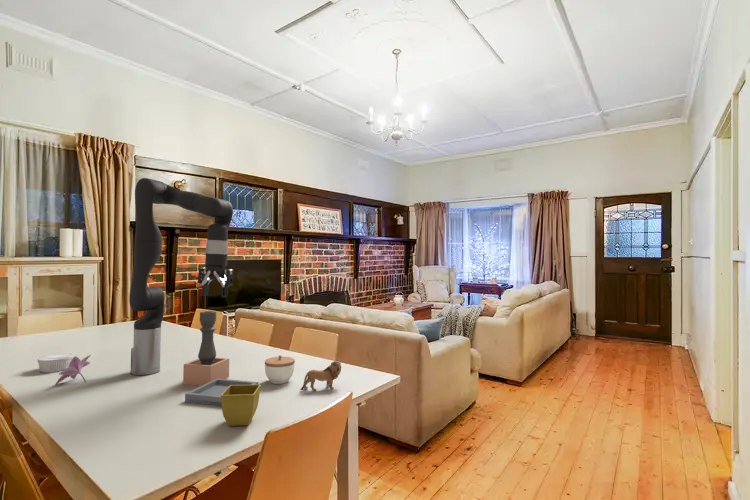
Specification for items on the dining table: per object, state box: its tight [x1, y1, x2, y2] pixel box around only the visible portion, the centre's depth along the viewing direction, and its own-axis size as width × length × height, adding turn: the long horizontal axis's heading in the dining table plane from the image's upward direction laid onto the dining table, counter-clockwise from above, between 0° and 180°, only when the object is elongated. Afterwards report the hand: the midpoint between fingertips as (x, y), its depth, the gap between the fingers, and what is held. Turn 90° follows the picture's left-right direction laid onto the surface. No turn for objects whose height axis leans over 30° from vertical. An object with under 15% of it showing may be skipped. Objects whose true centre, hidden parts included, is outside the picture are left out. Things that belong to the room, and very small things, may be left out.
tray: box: [184, 378, 259, 407], centre depth 126 cm, size 16×16×2 cm
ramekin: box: [37, 352, 75, 373], centre depth 152 cm, size 11×11×5 cm
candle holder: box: [197, 310, 217, 365], centre depth 141 cm, size 6×6×25 cm
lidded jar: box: [264, 355, 296, 385], centre depth 141 cm, size 11×11×9 cm
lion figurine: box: [300, 360, 342, 392], centre depth 134 cm, size 15×5×9 cm, turn 116°
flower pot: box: [221, 384, 261, 427], centre depth 106 cm, size 9×9×9 cm
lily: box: [55, 354, 92, 385], centre depth 138 cm, size 12×12×10 cm
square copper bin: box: [182, 356, 230, 387], centre depth 141 cm, size 11×11×7 cm
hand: (214, 296), depth 142 cm, fingers open, 8 cm apart
